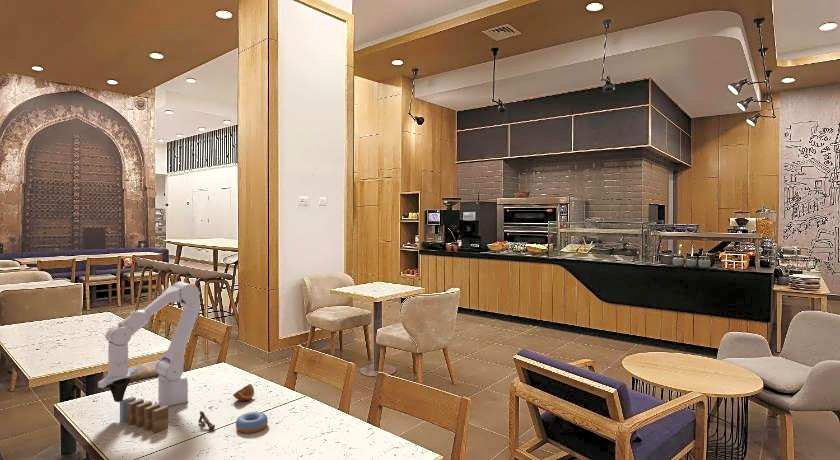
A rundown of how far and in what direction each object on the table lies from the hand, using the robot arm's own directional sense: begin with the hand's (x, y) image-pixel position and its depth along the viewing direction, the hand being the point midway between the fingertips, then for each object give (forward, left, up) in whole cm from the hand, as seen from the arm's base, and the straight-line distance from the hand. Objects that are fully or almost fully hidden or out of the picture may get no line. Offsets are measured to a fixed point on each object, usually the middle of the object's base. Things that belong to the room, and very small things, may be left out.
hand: (118, 401), depth 161 cm
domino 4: (-7, +16, -5) cm, 18 cm away
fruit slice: (-38, +11, -6) cm, 40 cm away
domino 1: (-2, +5, -5) cm, 7 cm away
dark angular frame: (-21, +26, -6) cm, 34 cm away
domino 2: (-4, +8, -5) cm, 11 cm away
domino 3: (-5, +12, -5) cm, 14 cm away
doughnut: (-33, +35, -6) cm, 48 cm away
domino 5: (-9, +19, -5) cm, 22 cm away
